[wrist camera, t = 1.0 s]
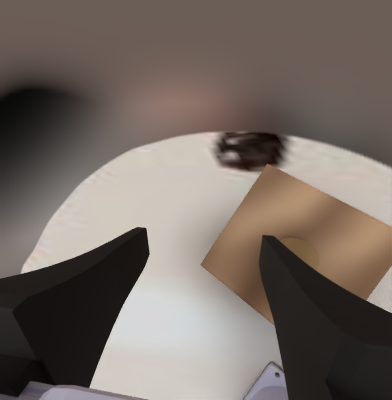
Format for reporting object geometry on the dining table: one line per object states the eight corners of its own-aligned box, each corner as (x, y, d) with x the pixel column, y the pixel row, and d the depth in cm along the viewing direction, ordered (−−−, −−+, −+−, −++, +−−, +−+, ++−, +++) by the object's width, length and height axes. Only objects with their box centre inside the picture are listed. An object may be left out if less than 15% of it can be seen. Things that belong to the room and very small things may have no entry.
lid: (404, 236, 16) (448, 239, 12) (317, 356, 16) (334, 392, 13) (267, 166, 20) (269, 152, 16) (202, 263, 21) (191, 270, 17)
